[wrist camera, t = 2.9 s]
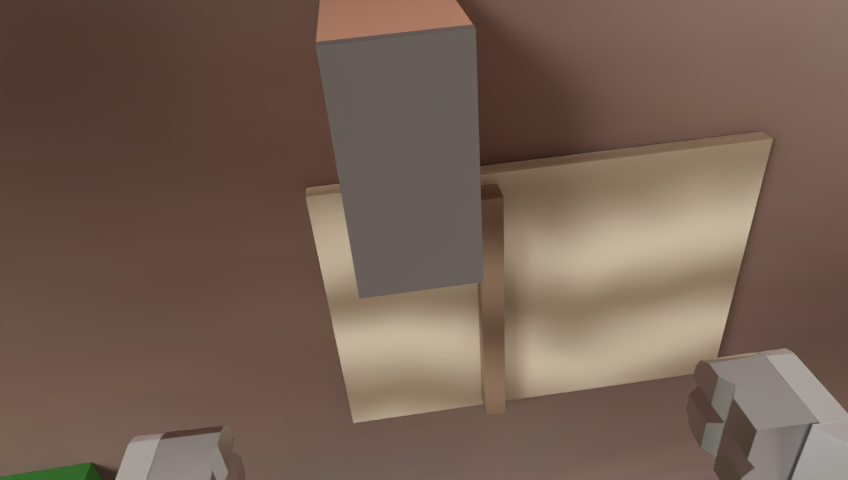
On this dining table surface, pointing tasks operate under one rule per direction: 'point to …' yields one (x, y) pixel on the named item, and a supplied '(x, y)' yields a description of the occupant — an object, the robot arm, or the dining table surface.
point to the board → (557, 280)
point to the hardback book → (59, 474)
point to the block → (405, 140)
